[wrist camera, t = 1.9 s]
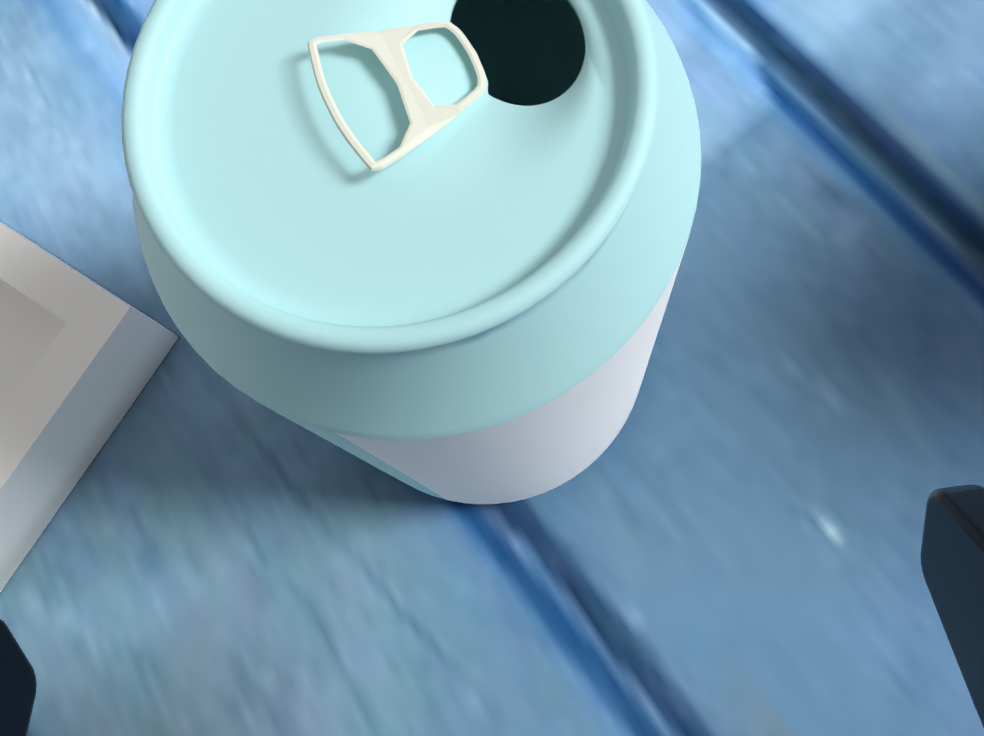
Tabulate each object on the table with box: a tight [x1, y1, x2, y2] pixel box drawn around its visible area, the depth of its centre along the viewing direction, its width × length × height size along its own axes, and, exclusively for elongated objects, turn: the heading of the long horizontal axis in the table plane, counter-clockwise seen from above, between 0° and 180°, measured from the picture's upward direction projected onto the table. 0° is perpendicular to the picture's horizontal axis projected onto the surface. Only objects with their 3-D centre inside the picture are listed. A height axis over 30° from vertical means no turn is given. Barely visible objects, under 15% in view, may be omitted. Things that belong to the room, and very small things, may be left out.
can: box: [122, 0, 701, 504], centre depth 16 cm, size 7×7×12 cm
